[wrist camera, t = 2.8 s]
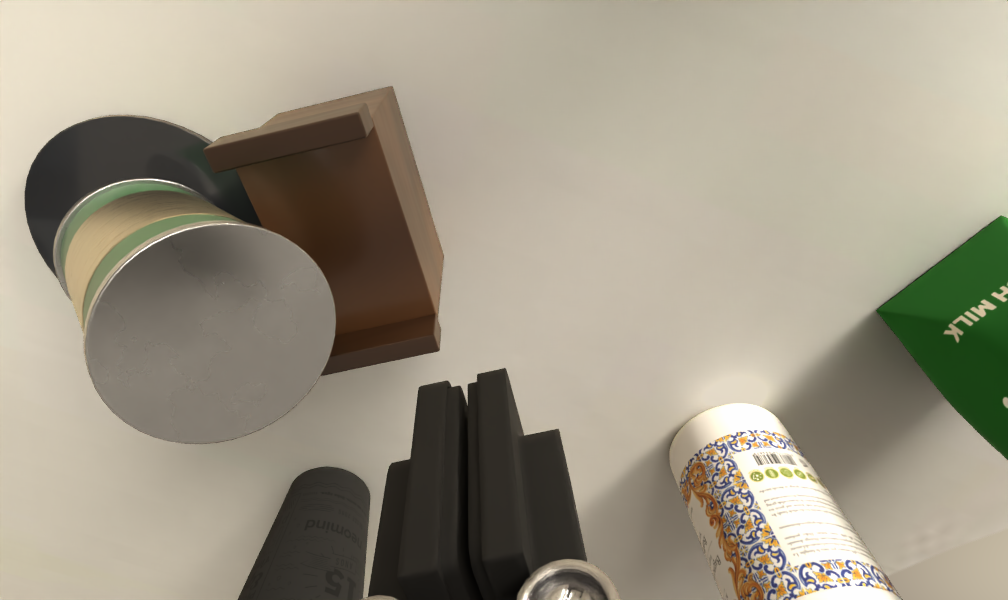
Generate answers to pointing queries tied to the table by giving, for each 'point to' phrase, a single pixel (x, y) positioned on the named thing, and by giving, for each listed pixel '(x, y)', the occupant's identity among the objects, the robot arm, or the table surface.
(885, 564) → the table surface
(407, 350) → the rest
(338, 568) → the drinking cup
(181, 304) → the can
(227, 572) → the table surface
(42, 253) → the coaster
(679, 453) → the bath foam
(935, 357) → the milk carton
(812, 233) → the table surface
